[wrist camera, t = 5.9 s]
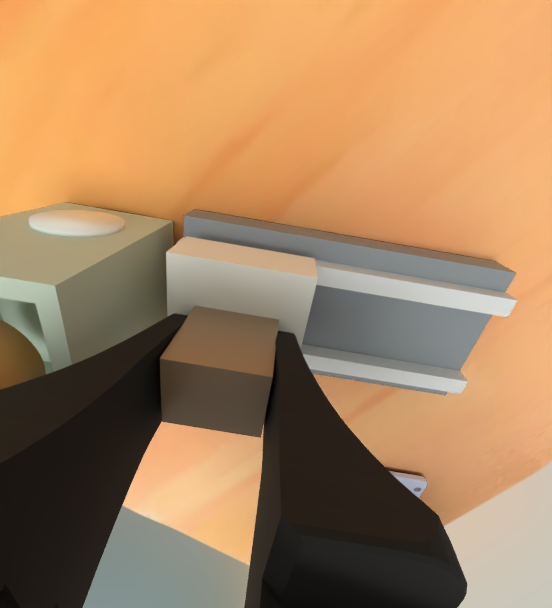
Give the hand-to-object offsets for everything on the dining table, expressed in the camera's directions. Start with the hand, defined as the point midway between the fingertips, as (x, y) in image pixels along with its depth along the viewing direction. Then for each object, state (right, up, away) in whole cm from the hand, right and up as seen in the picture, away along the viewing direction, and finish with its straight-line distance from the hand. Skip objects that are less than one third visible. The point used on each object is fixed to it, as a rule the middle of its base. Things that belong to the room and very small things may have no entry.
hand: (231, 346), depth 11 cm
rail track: (+4, +2, +4) cm, 6 cm away
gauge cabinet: (-6, +3, +4) cm, 8 cm away
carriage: (0, +1, +2) cm, 2 cm away
